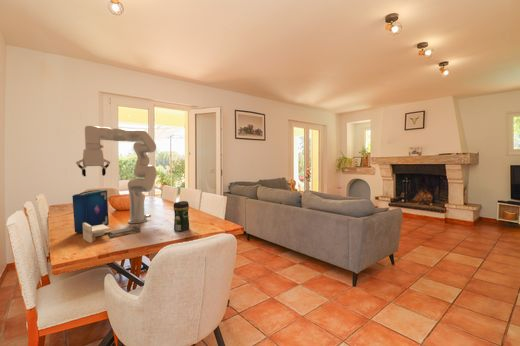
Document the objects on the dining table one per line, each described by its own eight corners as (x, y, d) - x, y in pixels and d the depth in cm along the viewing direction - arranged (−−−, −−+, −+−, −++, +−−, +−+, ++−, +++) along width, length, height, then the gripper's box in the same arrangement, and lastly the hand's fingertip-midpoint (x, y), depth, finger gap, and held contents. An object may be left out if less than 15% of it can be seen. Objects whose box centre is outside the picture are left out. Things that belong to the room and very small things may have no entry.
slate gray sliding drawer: (135, 229, 167) (134, 224, 167) (140, 231, 163) (140, 226, 163) (108, 235, 155) (108, 229, 154) (113, 237, 150) (113, 232, 150)
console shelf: (103, 234, 155) (103, 219, 155) (110, 238, 147) (109, 223, 147) (83, 238, 147) (82, 222, 147) (89, 242, 139) (88, 226, 139)
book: (81, 234, 155) (80, 193, 154) (72, 233, 156) (70, 193, 155) (109, 225, 176) (108, 189, 175) (100, 225, 177) (99, 189, 176)
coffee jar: (181, 227, 172) (181, 200, 171) (191, 228, 168) (190, 200, 168) (171, 231, 163) (171, 202, 162) (181, 232, 160) (181, 203, 159)
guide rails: (133, 228, 168) (133, 227, 168) (140, 231, 161) (140, 230, 161) (103, 234, 155) (103, 232, 155) (109, 238, 148) (109, 236, 148)
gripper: (107, 147, 159) (108, 174, 160) (74, 146, 147) (75, 176, 148) (111, 147, 154) (112, 175, 155) (76, 146, 142) (77, 177, 143)
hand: (94, 175), depth 152 cm, fingers open, 9 cm apart
